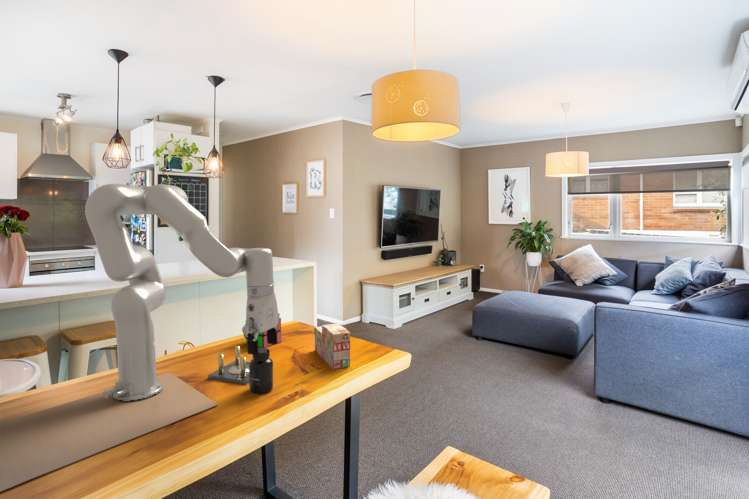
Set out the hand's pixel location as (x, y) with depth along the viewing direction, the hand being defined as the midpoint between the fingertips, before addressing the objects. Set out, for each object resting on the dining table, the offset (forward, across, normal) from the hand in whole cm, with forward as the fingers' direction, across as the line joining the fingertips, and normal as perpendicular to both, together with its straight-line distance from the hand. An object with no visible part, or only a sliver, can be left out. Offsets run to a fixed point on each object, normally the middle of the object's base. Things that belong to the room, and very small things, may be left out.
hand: (263, 348), depth 123 cm
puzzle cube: (+13, +39, +26) cm, 48 cm away
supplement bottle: (+13, 0, +1) cm, 13 cm away
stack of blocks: (+14, +32, -7) cm, 35 cm away
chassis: (+12, +9, +15) cm, 21 cm away
